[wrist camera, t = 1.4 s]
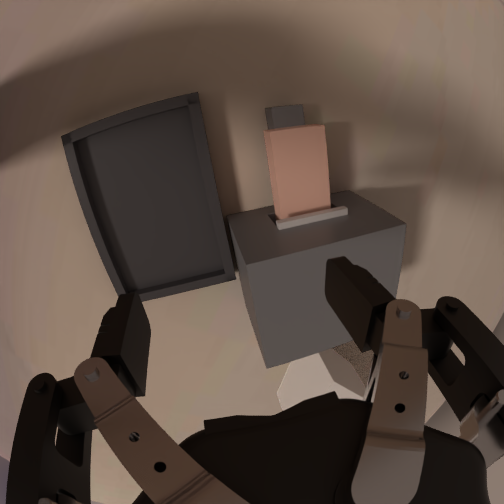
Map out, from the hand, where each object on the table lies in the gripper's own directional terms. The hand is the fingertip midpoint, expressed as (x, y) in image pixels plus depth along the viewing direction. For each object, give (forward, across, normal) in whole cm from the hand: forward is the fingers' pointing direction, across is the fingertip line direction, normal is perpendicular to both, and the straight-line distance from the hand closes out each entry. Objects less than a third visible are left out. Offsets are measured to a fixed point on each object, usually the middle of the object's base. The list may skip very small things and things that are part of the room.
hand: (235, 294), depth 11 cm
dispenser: (+17, -8, +3) cm, 20 cm away
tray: (+17, +6, 0) cm, 18 cm away
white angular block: (+19, -13, +35) cm, 42 cm away
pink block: (+15, -8, +1) cm, 17 cm away
